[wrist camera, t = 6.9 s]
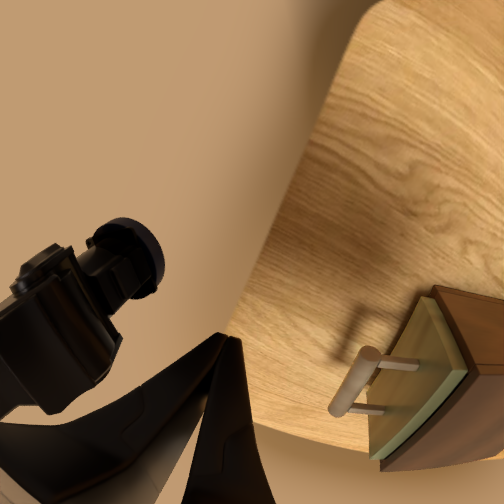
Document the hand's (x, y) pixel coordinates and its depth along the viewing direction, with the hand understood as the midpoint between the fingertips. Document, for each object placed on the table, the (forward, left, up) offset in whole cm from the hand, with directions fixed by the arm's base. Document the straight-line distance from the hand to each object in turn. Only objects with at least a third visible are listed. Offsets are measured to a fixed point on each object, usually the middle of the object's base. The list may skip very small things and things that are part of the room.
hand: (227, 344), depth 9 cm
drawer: (+11, -12, -9) cm, 19 cm away
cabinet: (+15, -13, -10) cm, 22 cm away
